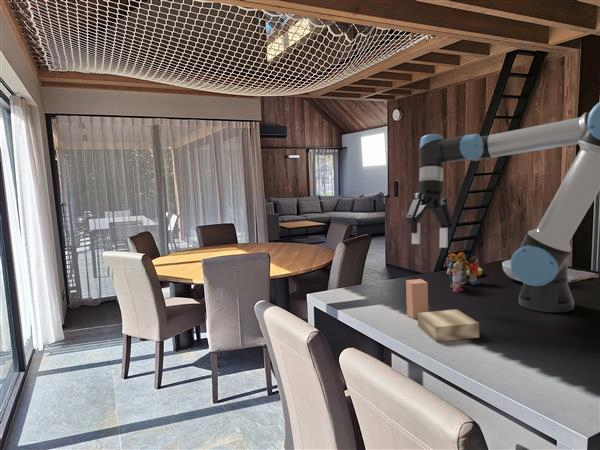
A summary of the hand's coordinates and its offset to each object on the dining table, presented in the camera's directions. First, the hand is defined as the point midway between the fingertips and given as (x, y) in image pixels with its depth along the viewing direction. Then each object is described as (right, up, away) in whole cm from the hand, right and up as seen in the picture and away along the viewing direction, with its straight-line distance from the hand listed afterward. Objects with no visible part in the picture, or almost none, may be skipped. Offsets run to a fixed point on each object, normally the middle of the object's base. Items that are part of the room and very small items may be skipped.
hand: (430, 245), depth 130 cm
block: (-5, -22, -3) cm, 23 cm away
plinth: (-1, -23, -18) cm, 29 cm away
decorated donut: (+31, -15, +45) cm, 56 cm away
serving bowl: (+49, -16, +29) cm, 59 cm away
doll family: (+20, -17, +28) cm, 39 cm away
